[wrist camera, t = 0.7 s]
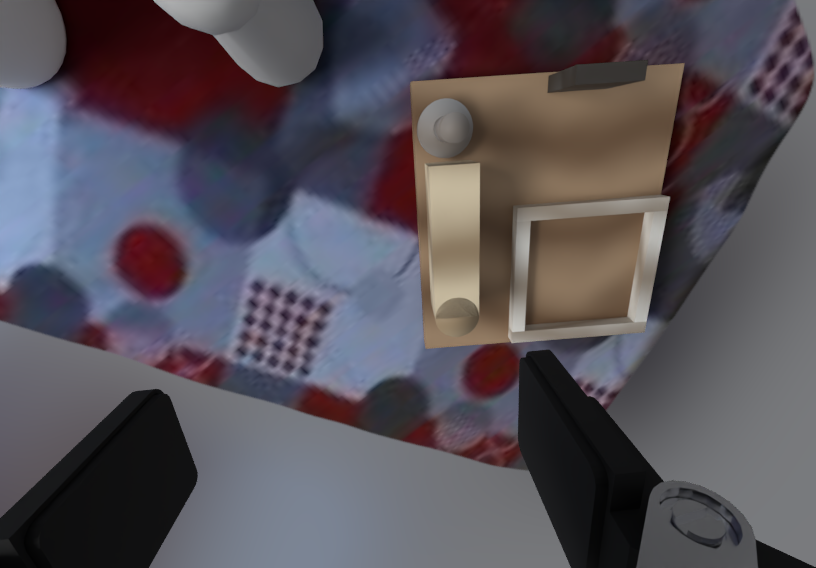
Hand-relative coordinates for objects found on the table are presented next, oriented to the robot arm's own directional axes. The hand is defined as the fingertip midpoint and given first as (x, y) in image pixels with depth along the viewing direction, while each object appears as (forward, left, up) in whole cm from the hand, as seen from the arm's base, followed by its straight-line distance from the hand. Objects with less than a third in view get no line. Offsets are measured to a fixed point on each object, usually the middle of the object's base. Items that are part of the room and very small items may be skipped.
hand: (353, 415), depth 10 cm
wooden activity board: (0, +12, -21) cm, 24 cm away
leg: (+1, +5, -18) cm, 18 cm away
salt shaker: (-13, -5, -21) cm, 25 cm away
